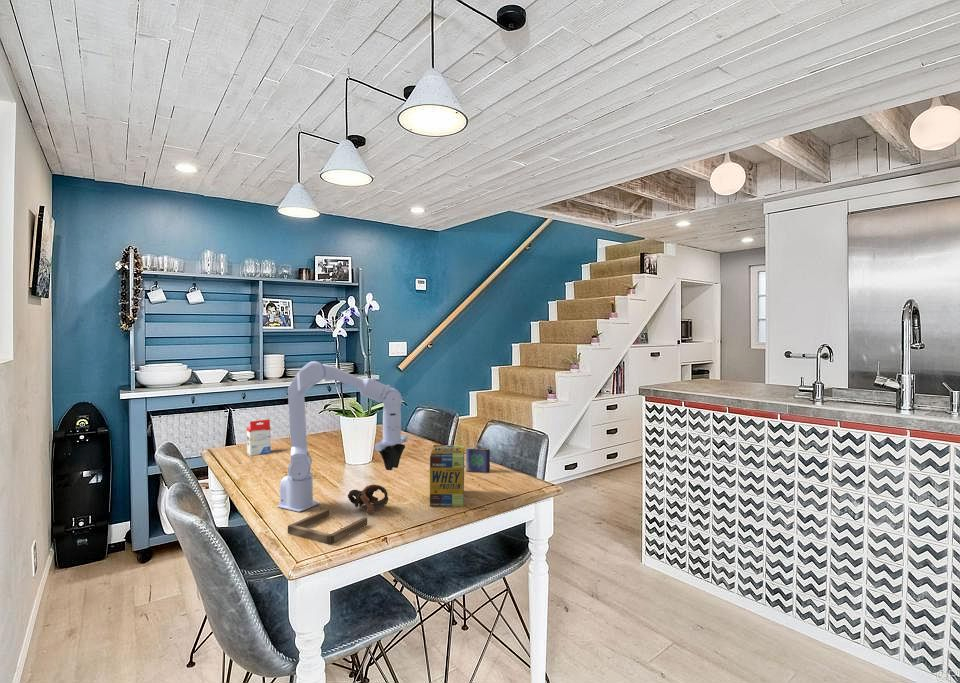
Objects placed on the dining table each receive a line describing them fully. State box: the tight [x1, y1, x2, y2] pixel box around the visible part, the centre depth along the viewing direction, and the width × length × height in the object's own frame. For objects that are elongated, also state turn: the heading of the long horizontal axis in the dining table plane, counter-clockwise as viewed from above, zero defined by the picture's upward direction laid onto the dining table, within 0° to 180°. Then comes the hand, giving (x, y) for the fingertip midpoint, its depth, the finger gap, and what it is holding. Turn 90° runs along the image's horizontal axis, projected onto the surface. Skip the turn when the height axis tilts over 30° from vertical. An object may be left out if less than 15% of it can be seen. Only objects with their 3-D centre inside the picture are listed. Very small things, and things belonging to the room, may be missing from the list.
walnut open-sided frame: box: [287, 508, 368, 545], centre depth 133 cm, size 15×14×2 cm
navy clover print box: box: [465, 442, 491, 474], centre depth 188 cm, size 9×3×11 cm, turn 79°
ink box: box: [246, 419, 272, 457], centre depth 213 cm, size 8×5×15 cm, turn 130°
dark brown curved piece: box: [347, 484, 389, 516], centre depth 148 cm, size 12×10×8 cm
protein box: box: [429, 444, 465, 507], centre depth 158 cm, size 10×15×16 cm
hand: (391, 468), depth 158 cm, fingers open, 2 cm apart
